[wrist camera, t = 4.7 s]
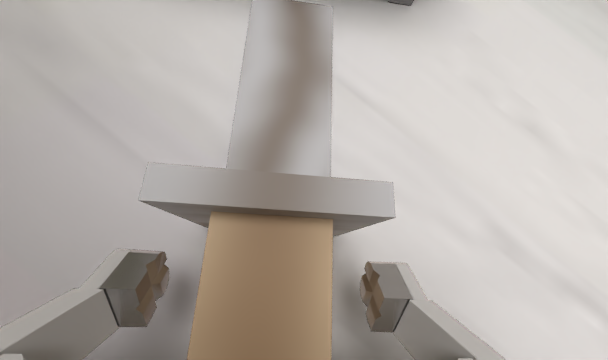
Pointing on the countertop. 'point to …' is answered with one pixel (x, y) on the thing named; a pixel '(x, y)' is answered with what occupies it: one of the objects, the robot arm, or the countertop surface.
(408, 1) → the cabinet
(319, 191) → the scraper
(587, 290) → the countertop surface
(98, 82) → the countertop surface
